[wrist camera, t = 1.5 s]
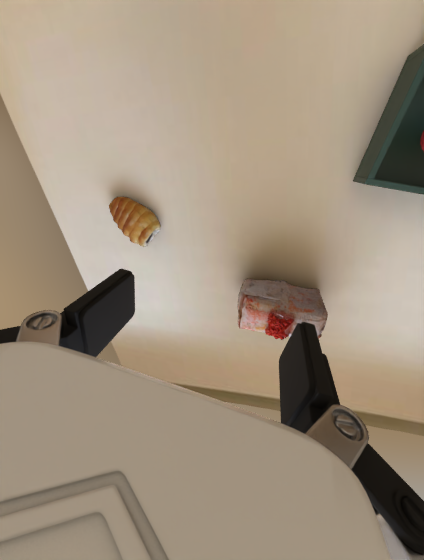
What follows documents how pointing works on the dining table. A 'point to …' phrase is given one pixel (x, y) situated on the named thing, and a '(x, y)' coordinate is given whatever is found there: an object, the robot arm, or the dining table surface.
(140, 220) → the pastry
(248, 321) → the food item
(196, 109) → the dining table surface
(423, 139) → the strawberry
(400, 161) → the open box
